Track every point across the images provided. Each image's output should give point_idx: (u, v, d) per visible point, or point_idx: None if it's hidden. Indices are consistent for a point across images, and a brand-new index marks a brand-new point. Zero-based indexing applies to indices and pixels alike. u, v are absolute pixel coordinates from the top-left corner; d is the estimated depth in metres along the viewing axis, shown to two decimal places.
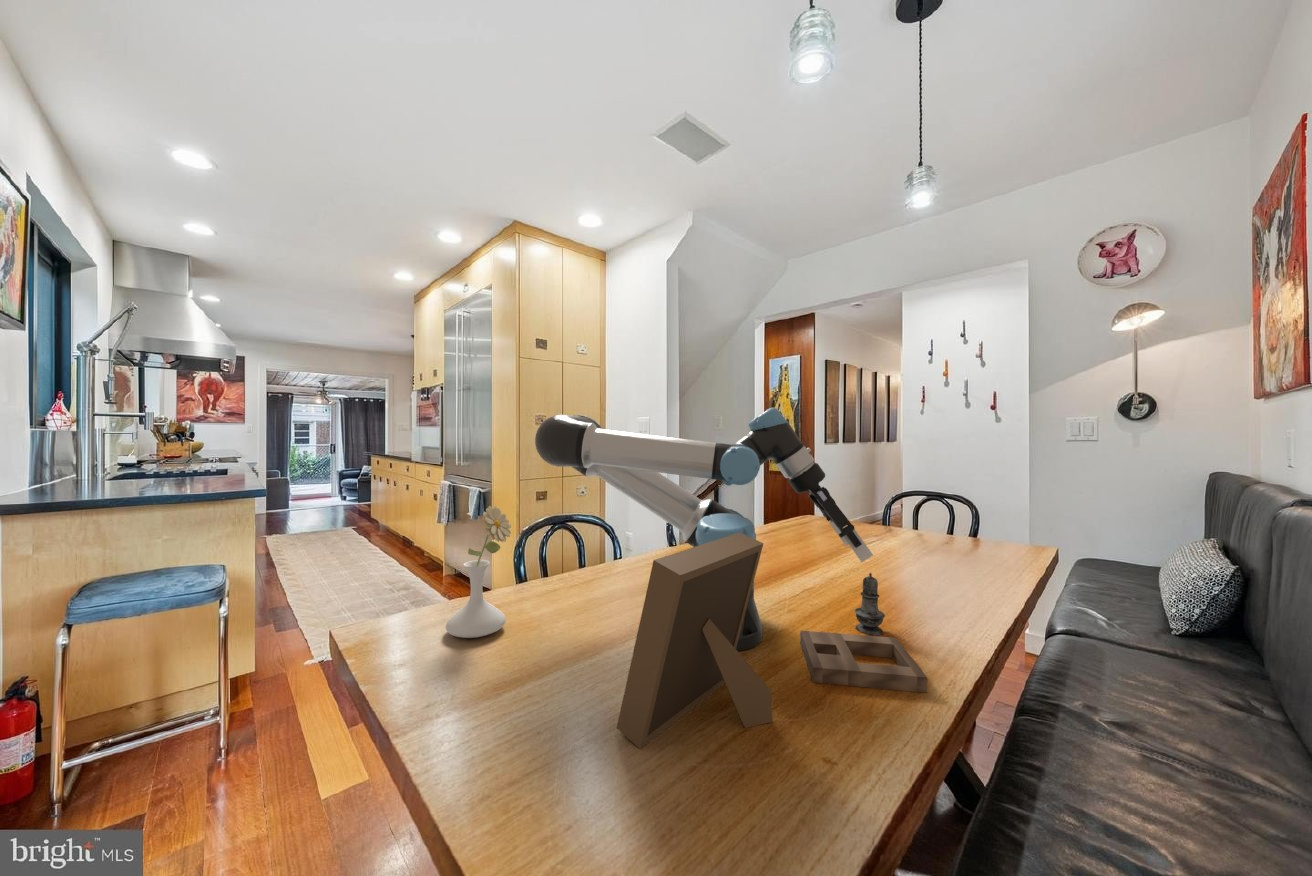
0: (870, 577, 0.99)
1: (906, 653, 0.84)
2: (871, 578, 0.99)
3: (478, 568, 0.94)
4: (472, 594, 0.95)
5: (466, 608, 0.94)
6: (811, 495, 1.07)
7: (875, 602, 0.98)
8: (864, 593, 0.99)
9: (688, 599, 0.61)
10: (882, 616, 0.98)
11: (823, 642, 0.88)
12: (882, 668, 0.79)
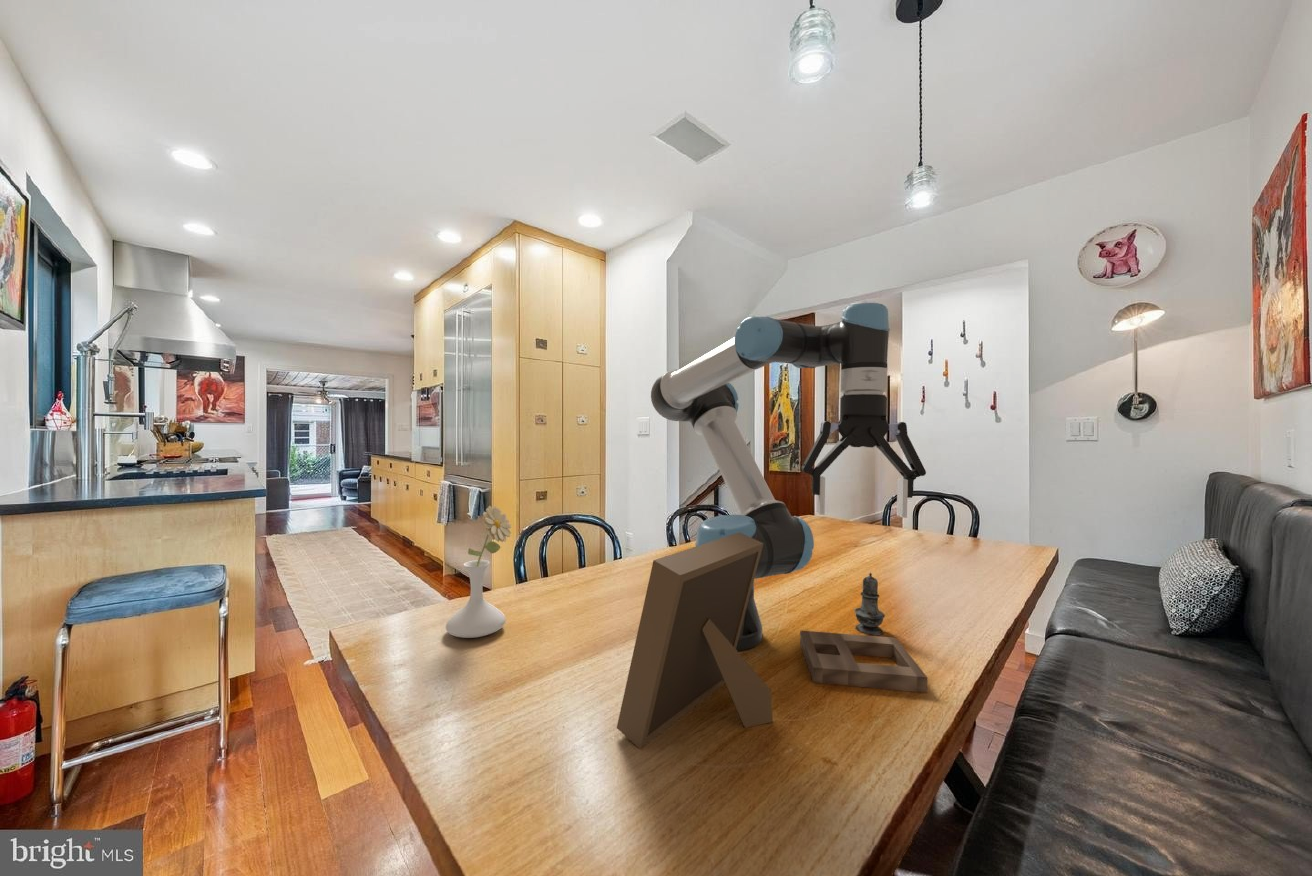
0: (870, 577, 0.99)
1: (906, 653, 0.84)
2: (871, 578, 0.99)
3: (478, 568, 0.94)
4: (472, 594, 0.95)
5: (466, 608, 0.94)
6: None
7: (875, 602, 0.98)
8: (864, 593, 0.99)
9: (688, 599, 0.61)
10: (882, 616, 0.98)
11: (823, 642, 0.88)
12: (882, 668, 0.79)
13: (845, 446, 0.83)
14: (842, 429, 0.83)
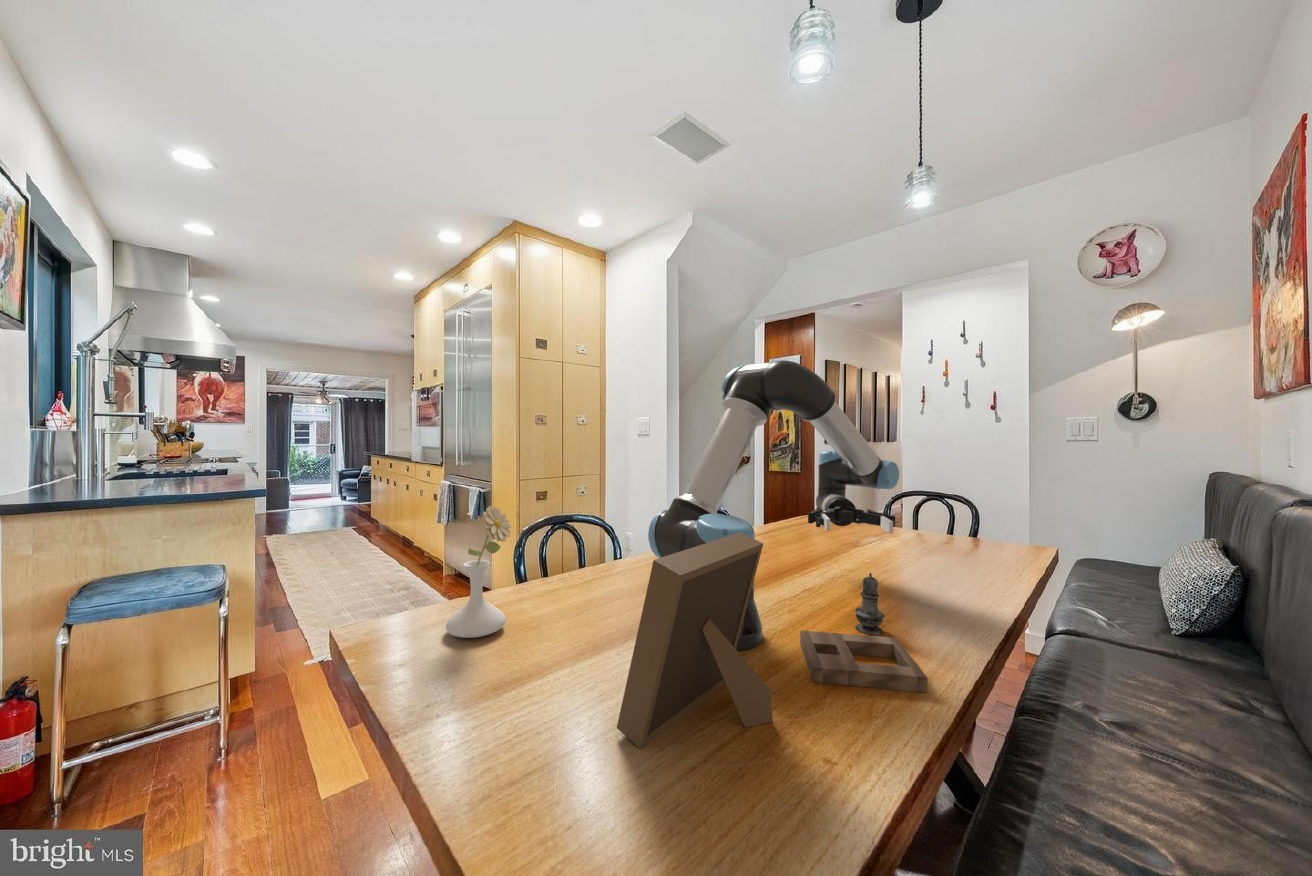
0: (870, 577, 0.99)
1: (906, 653, 0.84)
2: (871, 578, 0.99)
3: (478, 568, 0.94)
4: (472, 594, 0.95)
5: (466, 608, 0.94)
6: None
7: (875, 602, 0.98)
8: (864, 593, 0.99)
9: (688, 599, 0.61)
10: (882, 616, 0.98)
11: (823, 642, 0.88)
12: (882, 668, 0.79)
13: (860, 523, 1.20)
14: None
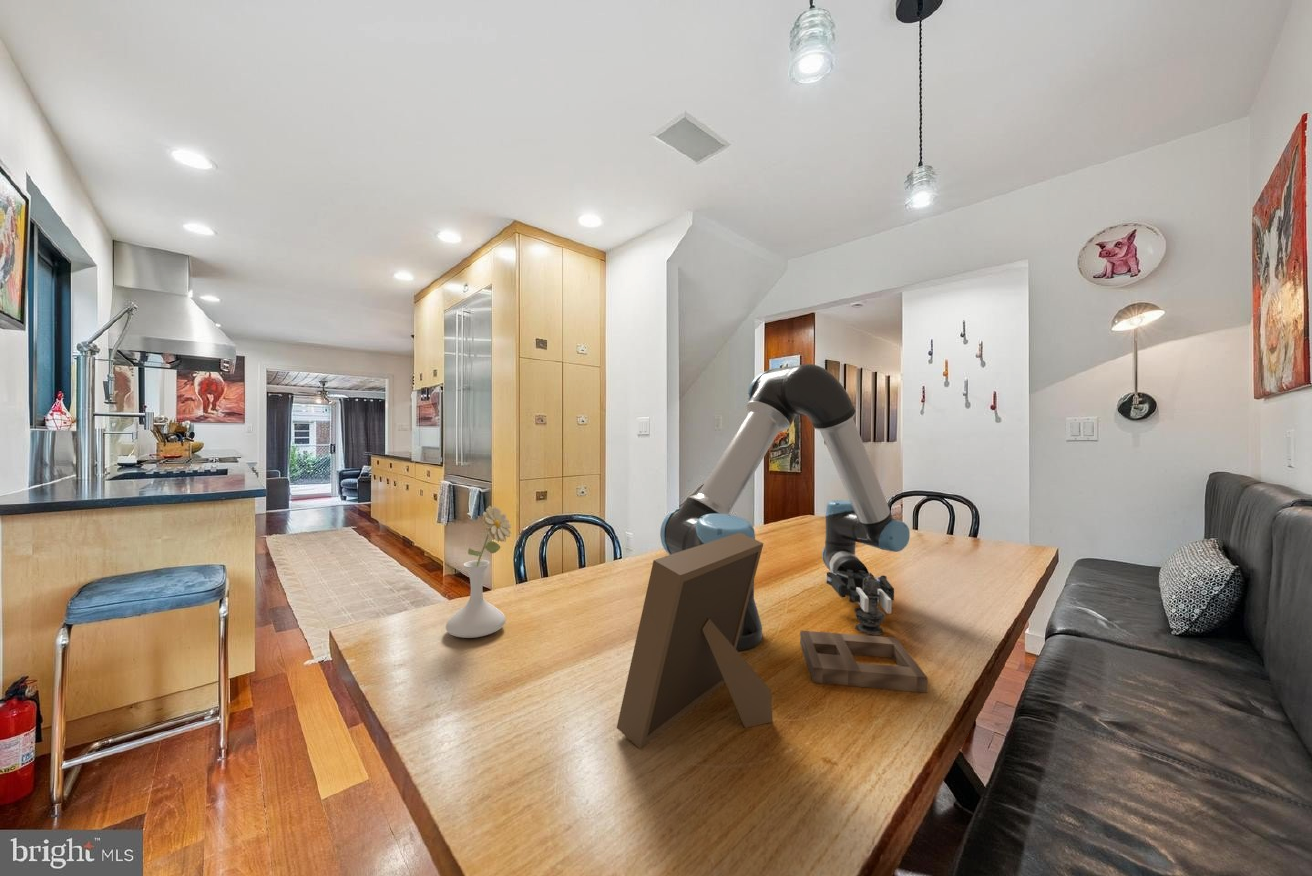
0: (870, 577, 0.99)
1: (906, 653, 0.84)
2: (871, 578, 0.99)
3: (478, 568, 0.94)
4: (472, 594, 0.95)
5: (466, 608, 0.94)
6: None
7: (875, 602, 0.98)
8: None
9: (688, 599, 0.61)
10: (882, 616, 0.98)
11: (823, 642, 0.88)
12: (882, 668, 0.79)
13: None
14: None
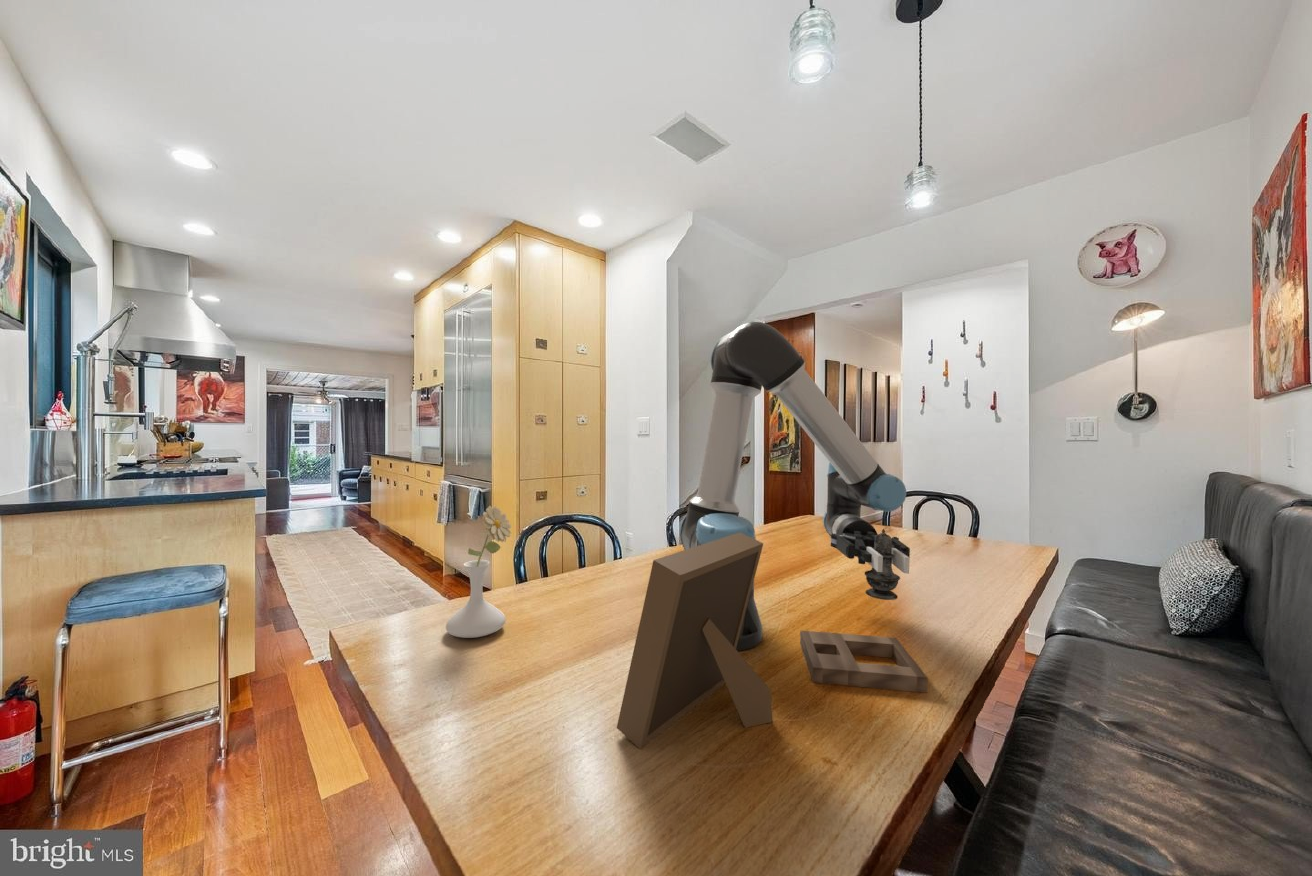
0: (883, 534, 0.86)
1: (906, 653, 0.84)
2: (884, 535, 0.86)
3: (478, 568, 0.94)
4: (472, 594, 0.95)
5: (466, 608, 0.94)
6: None
7: (889, 562, 0.85)
8: None
9: (687, 599, 0.61)
10: (897, 578, 0.85)
11: (823, 642, 0.88)
12: (882, 668, 0.79)
13: None
14: None
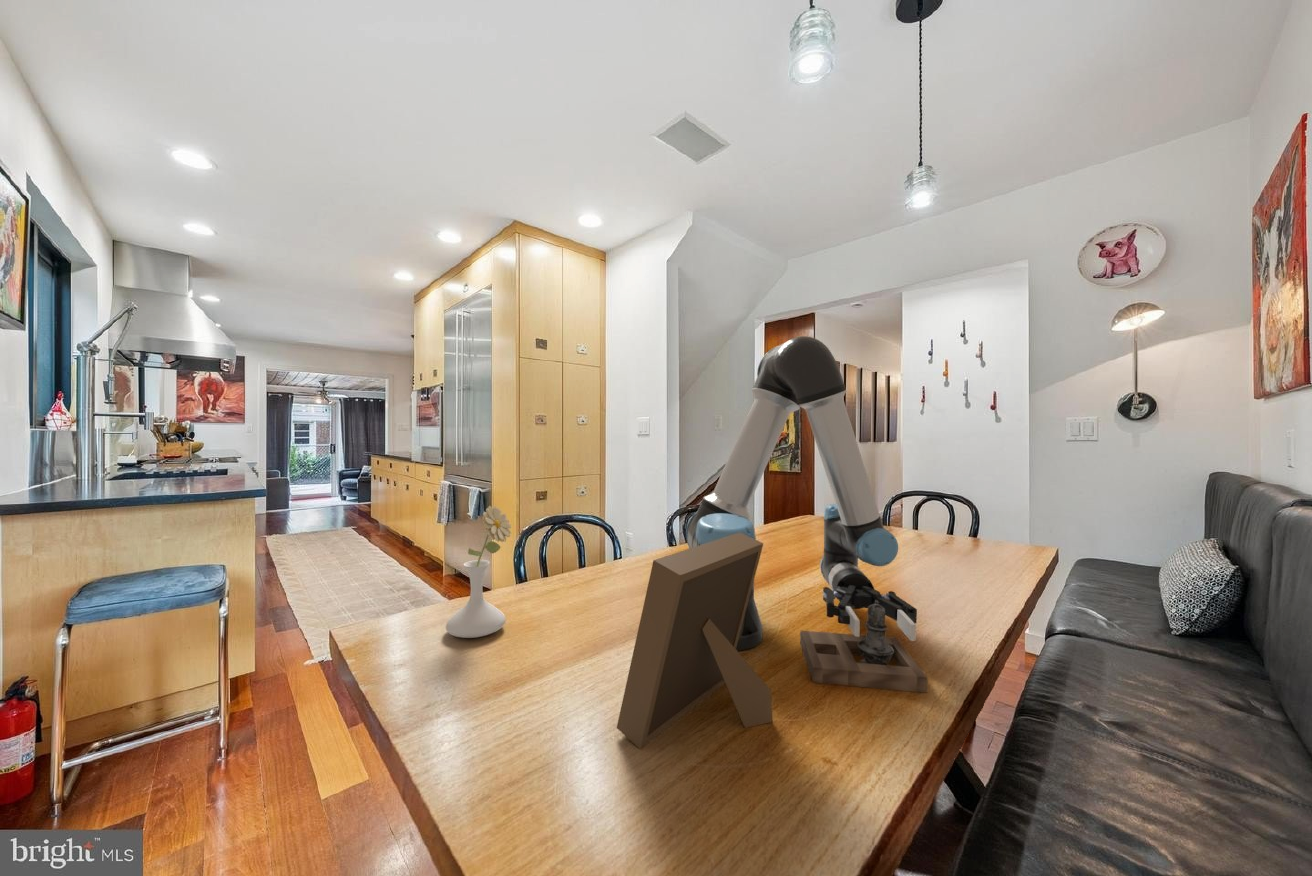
0: (877, 605, 0.84)
1: (906, 653, 0.84)
2: (877, 606, 0.83)
3: (478, 568, 0.94)
4: (472, 594, 0.95)
5: (466, 608, 0.94)
6: None
7: (882, 635, 0.83)
8: (869, 624, 0.84)
9: (688, 599, 0.61)
10: (891, 652, 0.82)
11: (823, 642, 0.88)
12: (882, 668, 0.79)
13: None
14: None
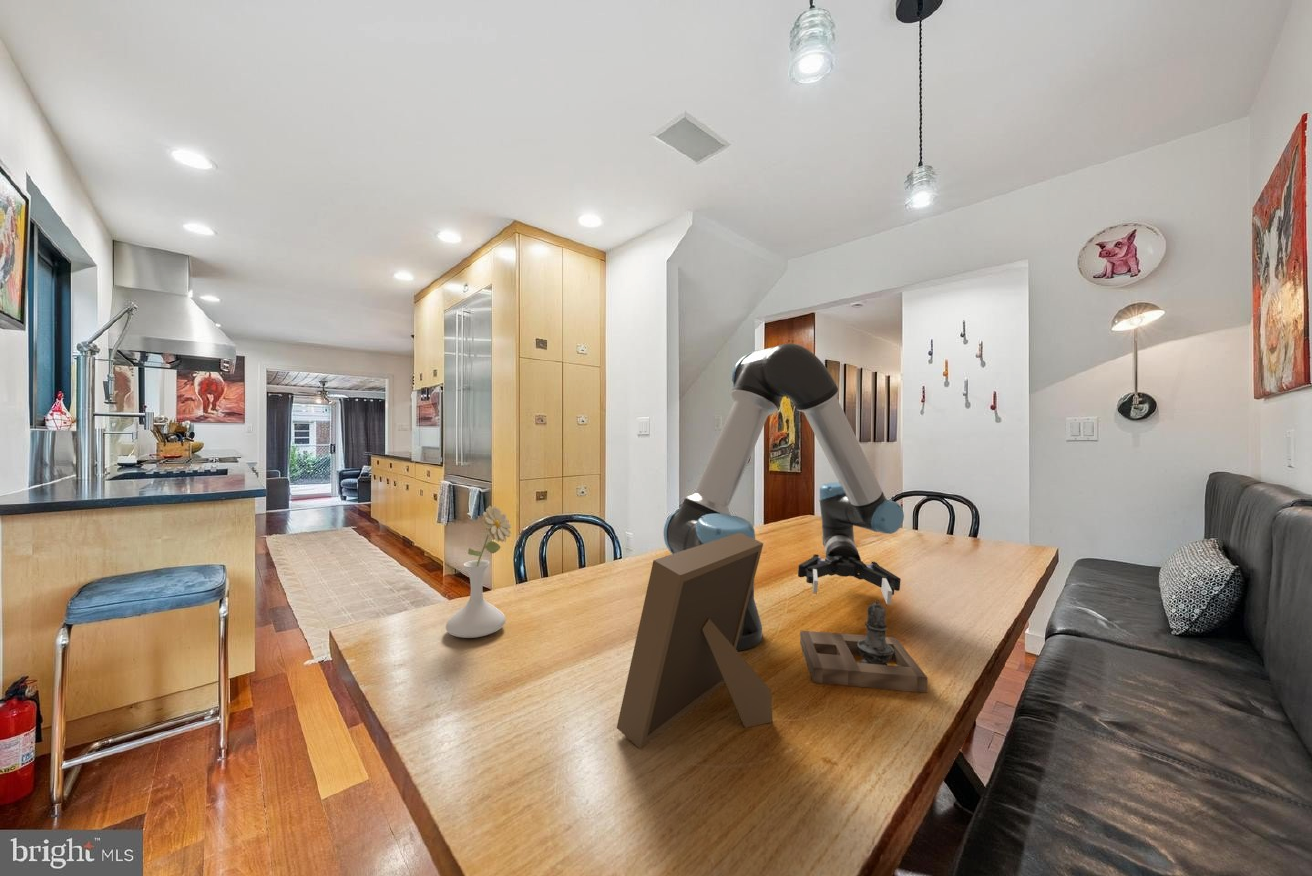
0: (877, 605, 0.84)
1: (906, 653, 0.84)
2: (877, 606, 0.83)
3: (478, 568, 0.94)
4: (472, 594, 0.95)
5: (466, 608, 0.94)
6: None
7: (882, 635, 0.83)
8: (869, 624, 0.84)
9: (688, 599, 0.61)
10: (891, 652, 0.82)
11: (823, 642, 0.88)
12: (882, 668, 0.79)
13: (860, 579, 1.05)
14: None
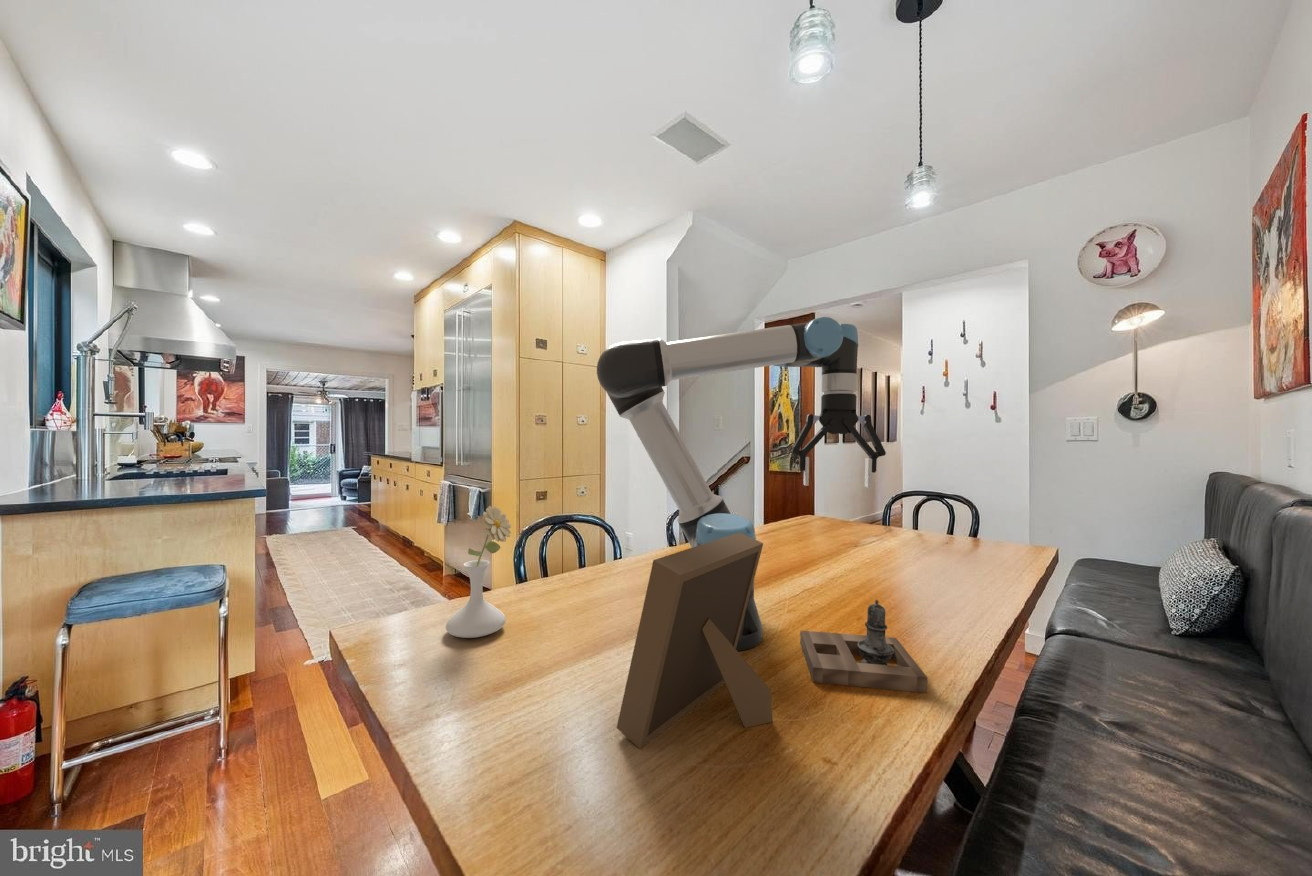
0: (877, 605, 0.84)
1: (906, 653, 0.84)
2: (877, 606, 0.83)
3: (478, 568, 0.94)
4: (472, 594, 0.95)
5: (466, 608, 0.94)
6: (835, 419, 1.08)
7: (882, 635, 0.83)
8: (869, 624, 0.84)
9: (687, 599, 0.61)
10: (891, 652, 0.82)
11: (823, 642, 0.88)
12: (882, 668, 0.79)
13: (850, 433, 1.11)
14: None
